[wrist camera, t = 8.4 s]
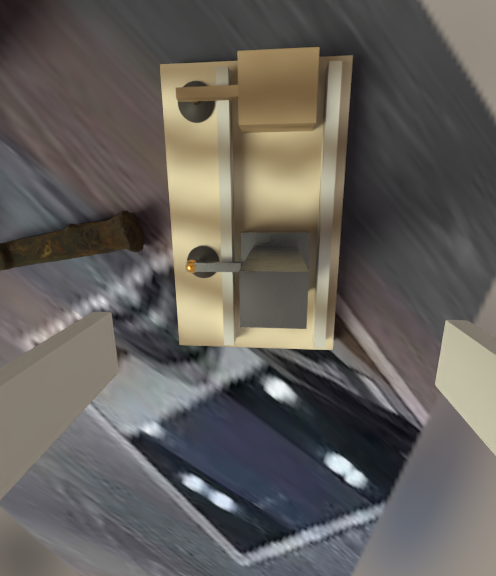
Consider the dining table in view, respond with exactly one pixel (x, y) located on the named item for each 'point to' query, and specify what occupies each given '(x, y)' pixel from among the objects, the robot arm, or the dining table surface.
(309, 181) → the plate
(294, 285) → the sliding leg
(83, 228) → the hand tool
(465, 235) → the dining table surface
